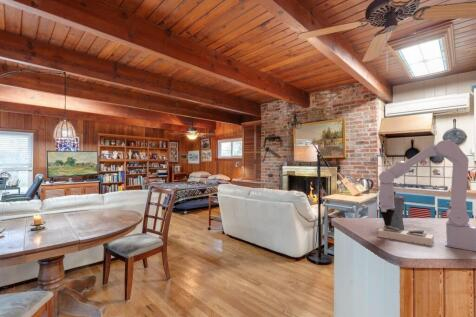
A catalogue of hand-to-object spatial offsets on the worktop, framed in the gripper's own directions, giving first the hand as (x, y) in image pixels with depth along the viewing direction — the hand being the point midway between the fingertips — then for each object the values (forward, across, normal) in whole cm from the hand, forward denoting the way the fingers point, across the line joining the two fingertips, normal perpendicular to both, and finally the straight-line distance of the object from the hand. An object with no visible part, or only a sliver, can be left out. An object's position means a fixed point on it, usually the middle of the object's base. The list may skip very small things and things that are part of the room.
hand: (387, 225), depth 113 cm
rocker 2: (+1, 0, +11) cm, 11 cm away
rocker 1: (+1, 0, +2) cm, 2 cm away
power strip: (+5, 0, +6) cm, 8 cm away
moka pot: (+6, -19, -2) cm, 20 cm away
